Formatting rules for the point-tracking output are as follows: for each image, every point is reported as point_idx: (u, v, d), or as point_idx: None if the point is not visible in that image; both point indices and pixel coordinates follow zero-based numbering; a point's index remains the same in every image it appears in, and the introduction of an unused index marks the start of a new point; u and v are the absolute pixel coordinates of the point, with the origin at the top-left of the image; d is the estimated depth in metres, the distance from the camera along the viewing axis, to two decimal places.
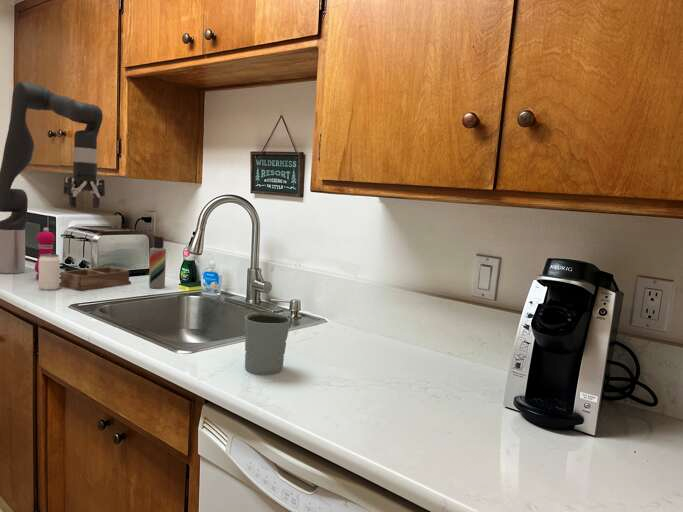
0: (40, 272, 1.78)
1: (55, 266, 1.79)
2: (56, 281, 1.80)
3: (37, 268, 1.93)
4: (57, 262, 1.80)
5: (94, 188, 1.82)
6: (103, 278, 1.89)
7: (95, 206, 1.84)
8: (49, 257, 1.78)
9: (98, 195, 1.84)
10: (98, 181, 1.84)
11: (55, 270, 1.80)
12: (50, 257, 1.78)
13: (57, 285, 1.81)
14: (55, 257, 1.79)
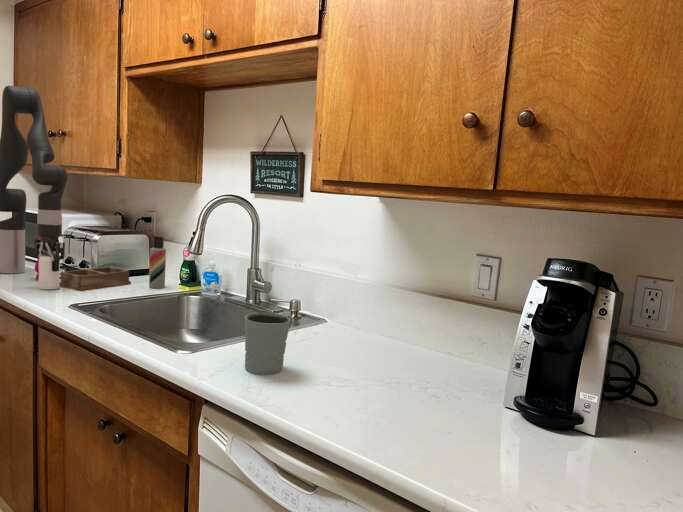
0: (40, 272, 1.78)
1: None
2: (56, 281, 1.80)
3: (37, 268, 1.93)
4: None
5: None
6: (103, 278, 1.89)
7: None
8: (49, 257, 1.78)
9: None
10: None
11: None
12: (50, 257, 1.78)
13: (57, 285, 1.81)
14: None
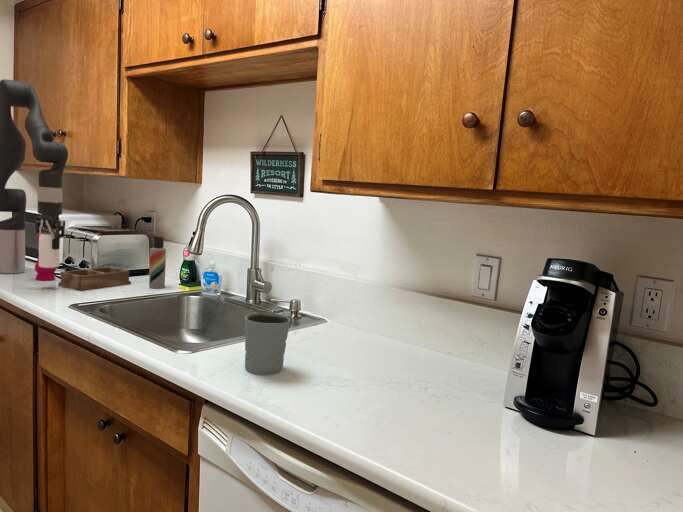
0: (40, 250, 1.77)
1: None
2: (56, 259, 1.80)
3: (37, 268, 1.93)
4: None
5: None
6: (103, 278, 1.89)
7: None
8: (49, 235, 1.77)
9: None
10: None
11: None
12: (50, 235, 1.77)
13: (57, 263, 1.81)
14: None
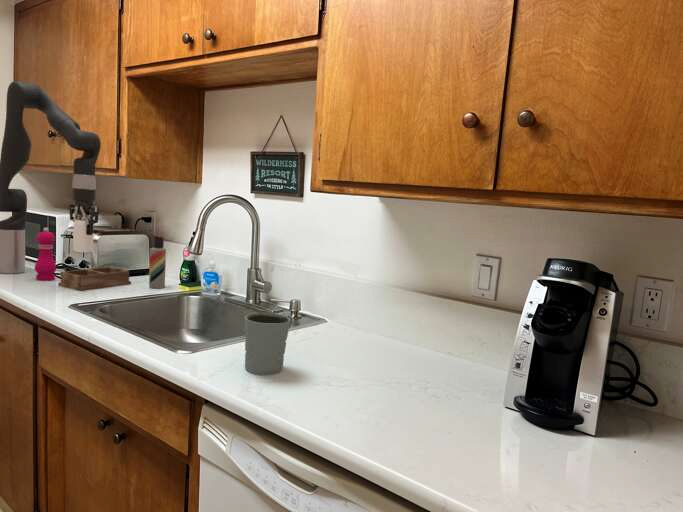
0: (75, 235, 1.84)
1: None
2: (90, 244, 1.86)
3: (37, 268, 1.93)
4: None
5: None
6: (103, 278, 1.89)
7: None
8: (84, 221, 1.83)
9: None
10: None
11: None
12: (84, 221, 1.84)
13: (91, 248, 1.87)
14: None
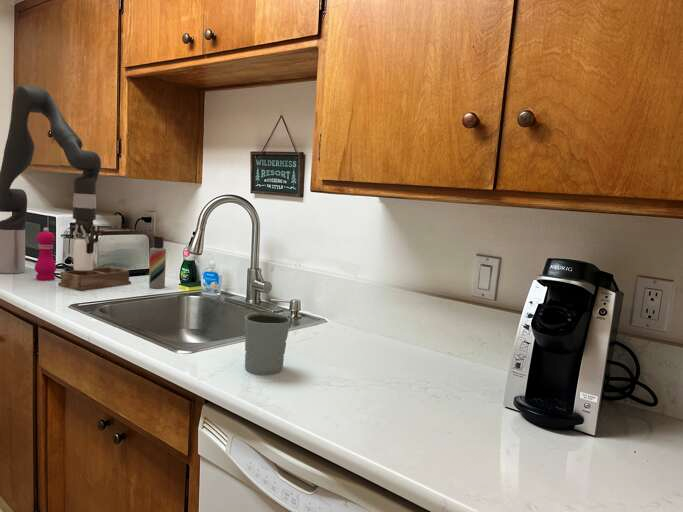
0: (75, 254, 1.85)
1: None
2: (90, 263, 1.87)
3: (37, 268, 1.93)
4: None
5: None
6: (103, 278, 1.89)
7: None
8: (84, 239, 1.85)
9: None
10: None
11: None
12: (85, 239, 1.85)
13: (91, 267, 1.88)
14: None
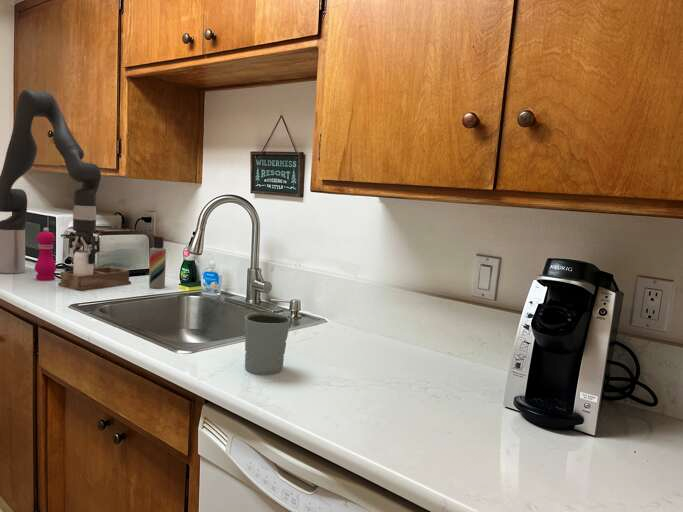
0: (75, 267, 1.85)
1: None
2: None
3: (37, 268, 1.93)
4: None
5: None
6: (103, 278, 1.89)
7: None
8: (84, 253, 1.85)
9: None
10: None
11: (89, 266, 1.87)
12: (85, 253, 1.85)
13: None
14: None
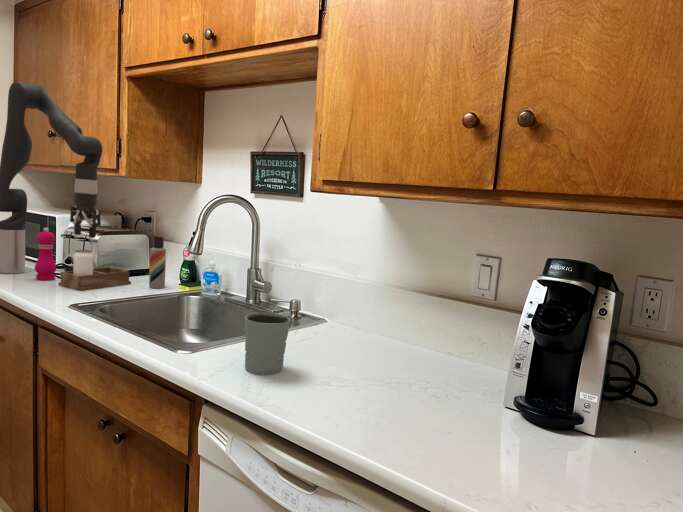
0: (75, 267, 1.85)
1: (89, 261, 1.87)
2: None
3: (37, 268, 1.93)
4: (91, 258, 1.87)
5: None
6: (103, 278, 1.89)
7: (79, 233, 1.91)
8: (84, 253, 1.85)
9: None
10: None
11: (89, 266, 1.87)
12: (85, 253, 1.85)
13: None
14: (89, 253, 1.87)
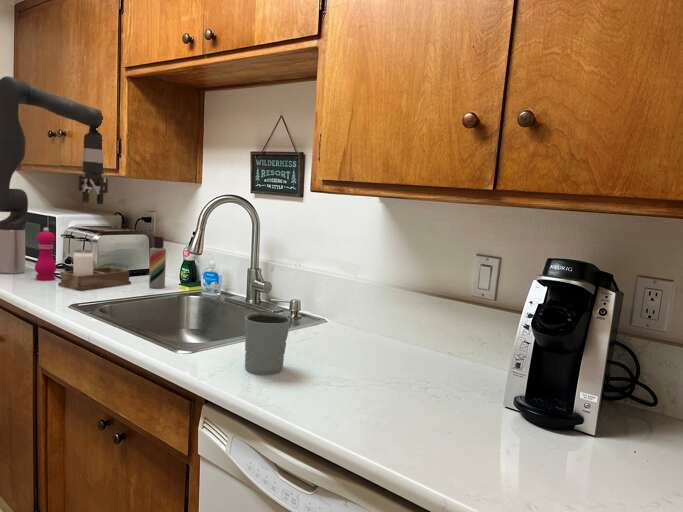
0: (75, 267, 1.85)
1: (89, 261, 1.87)
2: None
3: (37, 268, 1.93)
4: (91, 258, 1.87)
5: None
6: (103, 278, 1.89)
7: (87, 200, 2.02)
8: (84, 253, 1.85)
9: None
10: None
11: (89, 266, 1.87)
12: (85, 253, 1.85)
13: None
14: (89, 253, 1.87)
